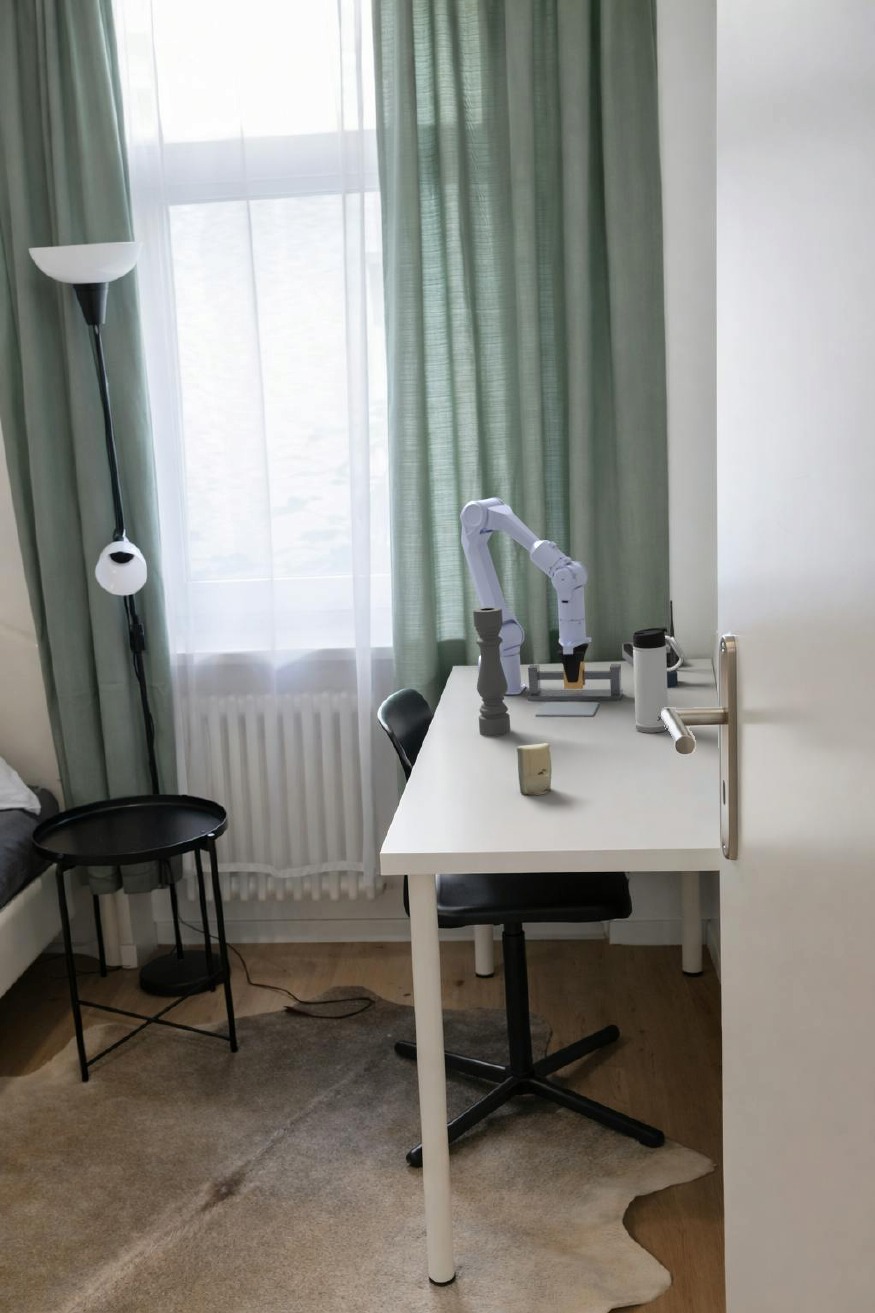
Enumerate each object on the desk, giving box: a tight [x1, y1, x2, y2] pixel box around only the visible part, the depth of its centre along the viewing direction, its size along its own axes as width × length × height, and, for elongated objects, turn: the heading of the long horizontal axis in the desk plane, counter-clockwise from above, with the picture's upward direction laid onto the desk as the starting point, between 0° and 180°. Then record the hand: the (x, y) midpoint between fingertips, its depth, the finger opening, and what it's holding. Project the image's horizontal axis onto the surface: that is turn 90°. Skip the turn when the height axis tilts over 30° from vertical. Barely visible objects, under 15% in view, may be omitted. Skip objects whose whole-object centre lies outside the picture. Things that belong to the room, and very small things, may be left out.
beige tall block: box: [516, 742, 553, 796], centre depth 187 cm, size 6×5×8 cm
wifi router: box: [621, 599, 681, 668], centre depth 274 cm, size 20×14×17 cm
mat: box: [535, 701, 600, 717], centre depth 238 cm, size 12×10×1 cm
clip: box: [562, 661, 586, 690], centre depth 247 cm, size 4×4×5 cm
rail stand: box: [527, 663, 623, 702], centre depth 247 cm, size 20×6×7 cm, turn 74°
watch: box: [665, 635, 685, 688], centre depth 253 cm, size 6×8×11 cm
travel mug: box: [632, 626, 669, 734], centre depth 217 cm, size 6×7×20 cm
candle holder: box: [472, 607, 511, 737], centre depth 223 cm, size 6×6×25 cm
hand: (574, 679), depth 247 cm, fingers closed on clip, 4 cm apart
